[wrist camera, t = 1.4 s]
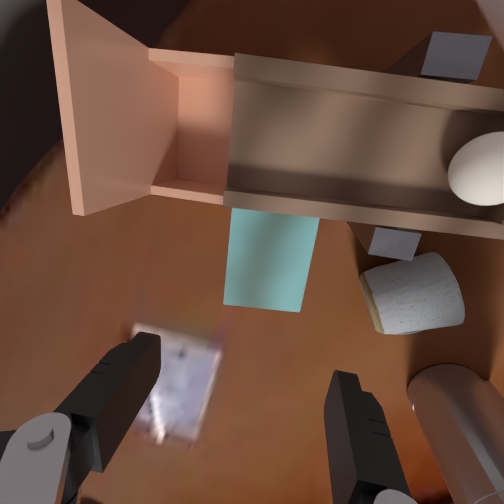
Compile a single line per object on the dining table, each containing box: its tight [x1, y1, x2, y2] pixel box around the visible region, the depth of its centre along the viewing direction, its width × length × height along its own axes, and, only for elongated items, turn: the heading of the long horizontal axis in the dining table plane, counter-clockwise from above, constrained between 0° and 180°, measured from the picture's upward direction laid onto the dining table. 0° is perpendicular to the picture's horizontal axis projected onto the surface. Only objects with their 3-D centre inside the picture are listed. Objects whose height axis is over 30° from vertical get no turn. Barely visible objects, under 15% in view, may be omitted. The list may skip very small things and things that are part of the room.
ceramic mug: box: [359, 252, 465, 335], centre depth 30 cm, size 11×8×8 cm
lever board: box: [223, 53, 504, 312], centre depth 22 cm, size 20×16×10 cm
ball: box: [448, 132, 504, 206], centre depth 16 cm, size 4×4×4 cm
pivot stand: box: [346, 31, 493, 261], centre depth 23 cm, size 3×13×12 cm, turn 173°
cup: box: [47, 0, 235, 216], centre depth 23 cm, size 12×12×16 cm
